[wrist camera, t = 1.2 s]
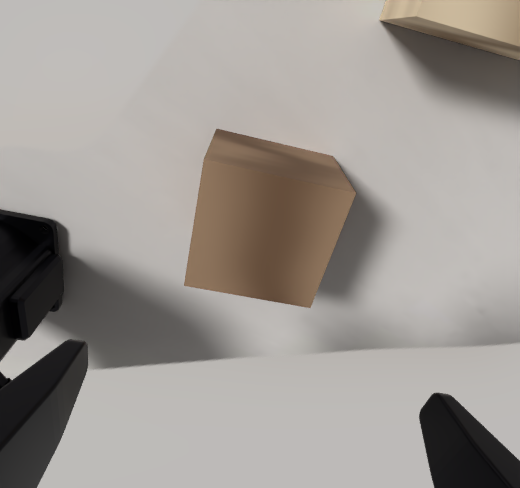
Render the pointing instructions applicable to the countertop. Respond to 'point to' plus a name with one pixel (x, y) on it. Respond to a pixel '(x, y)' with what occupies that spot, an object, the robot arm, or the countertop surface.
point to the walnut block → (266, 219)
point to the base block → (462, 22)
